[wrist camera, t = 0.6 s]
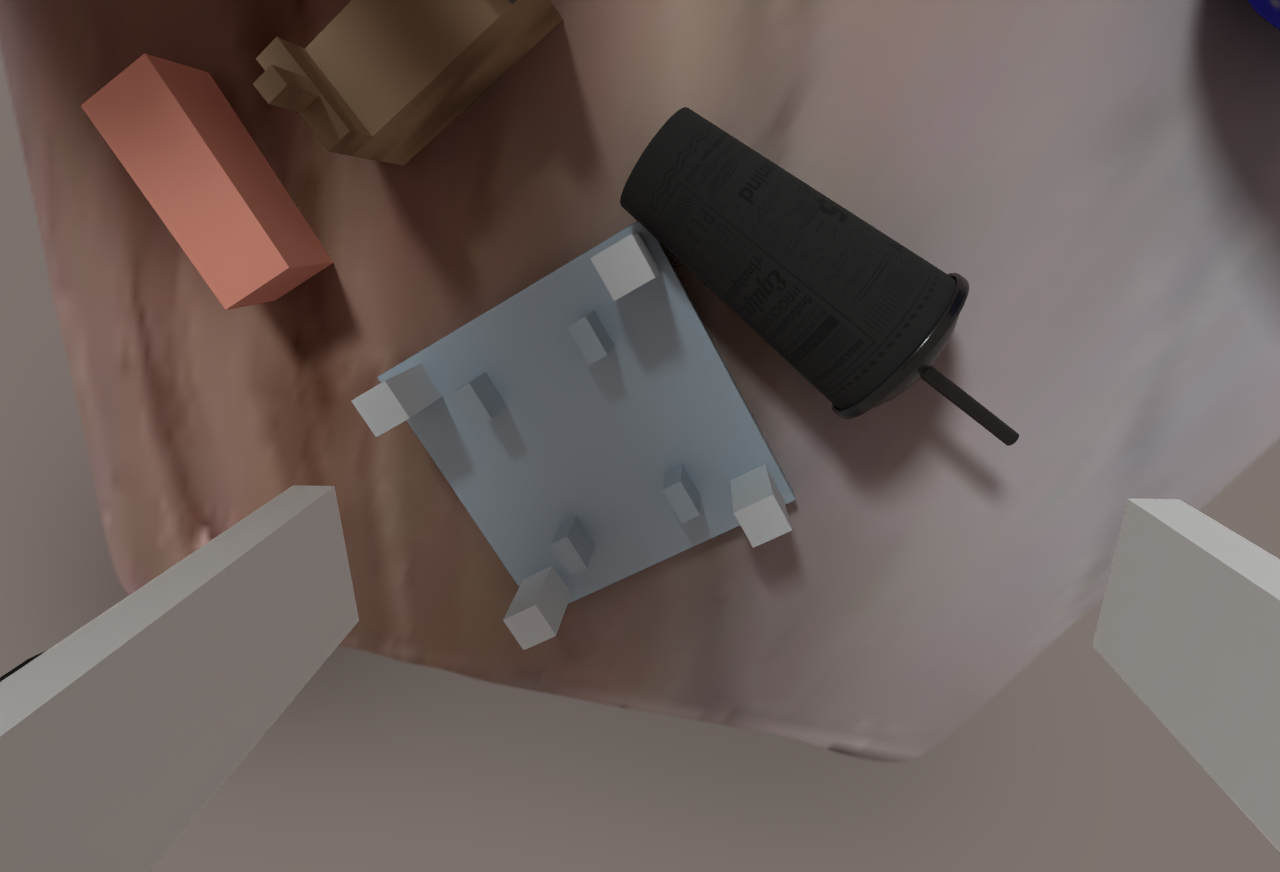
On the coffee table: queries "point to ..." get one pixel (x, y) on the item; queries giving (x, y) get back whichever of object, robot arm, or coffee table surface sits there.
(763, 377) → the coffee table surface
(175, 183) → the red rectangular block
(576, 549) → the jig
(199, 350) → the coffee table surface
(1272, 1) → the ornament
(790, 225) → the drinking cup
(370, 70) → the brown blocky piece
